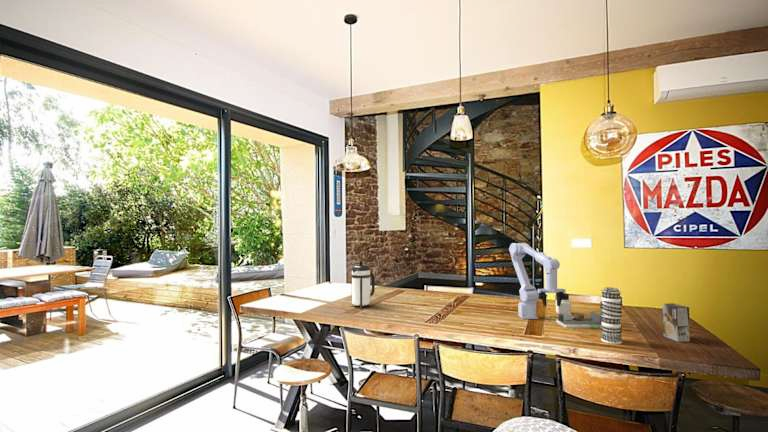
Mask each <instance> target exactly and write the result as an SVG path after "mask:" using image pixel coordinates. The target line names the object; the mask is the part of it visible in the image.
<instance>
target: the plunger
mask: <svg viewBox="0 0 768 432" xmlns="http://www.w3.org/2000/svg"><path fill="white" fill-rule="evenodd" d="M558 318H559V320H560V321H561V322H563V321H573V320H576V318H574V314H572V313H571V314H570V313H560V314H558Z"/></svg>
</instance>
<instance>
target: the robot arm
mask: <svg viewBox="0 0 768 432" xmlns="http://www.w3.org/2000/svg"><path fill="white" fill-rule="evenodd" d="M508 251H509V254H510V257H511V261H512V264H513V267H514V270H515V273H516V276H517V279H518V281H519V284H520V286H521V287H520V289H519V291H518V292H519V298H520V302H518V306H517V307H518V308H517V310H518V314H517V316H518V317H519V318H521V319H523V320H524V319H527V320H531V319H532V320H539V319H540V318H539V317H538V316H537V303H538V300H539V298H540V299H541V301H542V306H543V307H547V298H548V294H552V293H553V294H554V293H555V294H556V300H557V306H560V304H561V301H562V299H563V297H564V295H565V294H564V293H566V289H565V288H558V269H559V268H560V265H561V264H560V261H559V260H558V259H557V258H552V257H551V256H548V255H547V254H546V253H545V252H542V251H541V252H538V251H537V250H535V249H534V248H533V247H531V246H530V244H528V243H526V242H517V243H516V242H512V243H510V245H509V248H508ZM526 254H527V255H529V256H531V257H532V258H534V260H535V261H536V262H537V263H539V264H540V265H541V266H543V268H544V271H545V272H544V273H545V288H537V289H536V287H535V286H534V285H532V284H531V282H530V279H529V276H528V273H527V270H526V268H525V266H524V262H523V258H524V257H525V256H526ZM566 294H567V293H566Z"/></svg>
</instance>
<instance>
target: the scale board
mask: <svg viewBox="0 0 768 432" xmlns="http://www.w3.org/2000/svg"><path fill="white" fill-rule="evenodd" d="M589 311H590V313H589V317H584V321H574V320H573V321H563V322H561V321H560V320H559V317H557V319H555V322H556V323H557V324H559V325H560V326H562V327H563V328H565V329H567V328H568V329H571V328H572V329H575V328H576V329H582V328H583V329H601V328H602V327H601V325H602V316H601V313H598V312H595V311H594V310H589Z"/></svg>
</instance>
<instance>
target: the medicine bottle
mask: <svg viewBox="0 0 768 432" xmlns="http://www.w3.org/2000/svg"><path fill="white" fill-rule="evenodd" d="M564 294H565V295H564V297H563V299H562V301H561V304H560V306H557V299H556V300H555V312H556V313H557V314H558V315H559V314H560V313H570V314H572V303H571V302H570V301H569V300H570V299H569V293H564Z"/></svg>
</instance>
